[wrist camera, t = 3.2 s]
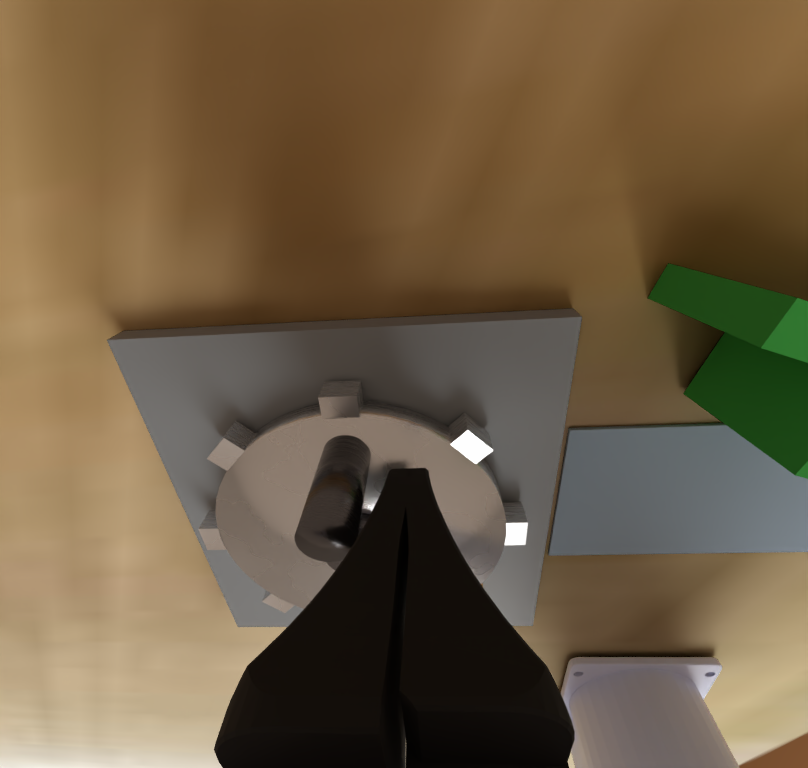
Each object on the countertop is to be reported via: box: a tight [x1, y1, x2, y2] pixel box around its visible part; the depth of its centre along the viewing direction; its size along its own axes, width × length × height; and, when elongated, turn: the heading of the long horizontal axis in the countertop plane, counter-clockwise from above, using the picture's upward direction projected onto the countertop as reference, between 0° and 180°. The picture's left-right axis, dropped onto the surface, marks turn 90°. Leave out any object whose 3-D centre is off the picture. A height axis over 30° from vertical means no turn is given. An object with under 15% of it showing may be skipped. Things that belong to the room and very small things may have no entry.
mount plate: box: [107, 308, 582, 627], centre depth 17 cm, size 16×15×1 cm
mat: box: [548, 423, 808, 556], centre depth 16 cm, size 7×13×1 cm, turn 94°
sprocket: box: [198, 380, 528, 613], centre depth 14 cm, size 12×12×4 cm
